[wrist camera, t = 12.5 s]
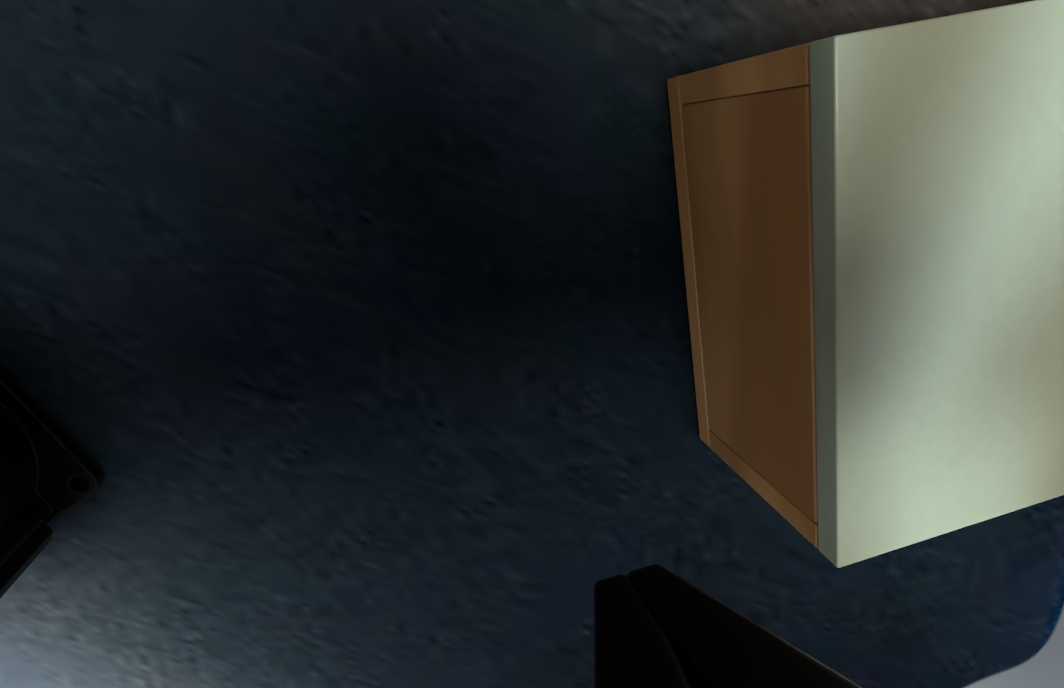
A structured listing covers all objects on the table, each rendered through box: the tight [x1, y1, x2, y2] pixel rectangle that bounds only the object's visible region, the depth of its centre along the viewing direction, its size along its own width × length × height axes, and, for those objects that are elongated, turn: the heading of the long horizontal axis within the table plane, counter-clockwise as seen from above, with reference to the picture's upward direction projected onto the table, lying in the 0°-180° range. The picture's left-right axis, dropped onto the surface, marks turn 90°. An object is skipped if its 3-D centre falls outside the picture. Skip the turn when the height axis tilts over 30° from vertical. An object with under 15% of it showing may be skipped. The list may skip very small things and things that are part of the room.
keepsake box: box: [667, 42, 819, 548], centre depth 19 cm, size 16×13×7 cm
